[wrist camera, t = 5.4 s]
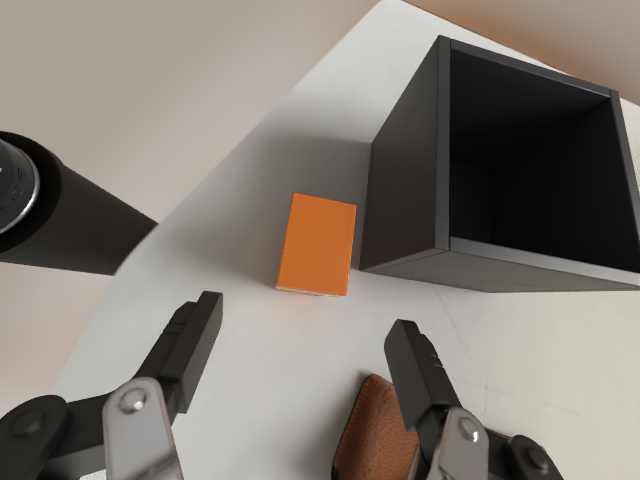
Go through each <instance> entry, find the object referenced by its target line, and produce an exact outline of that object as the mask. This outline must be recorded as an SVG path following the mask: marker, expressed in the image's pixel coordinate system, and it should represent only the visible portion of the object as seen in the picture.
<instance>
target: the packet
mask: <svg viewBox="0 0 640 480" xmlns="http://www.w3.org/2000/svg"><path fill="white" fill-rule="evenodd" d="M356 207H357V206H356V205H353V204H348V203H343V202H339V201H334V200H329V199H324V198H319V197H314V196H309V195H304V194H299V193H293V196H292V201H291V206H290V210H289V215H288V221H287V226H286V232H285V237H284V243H283V248H282V254H281V259H280V264H279V270H278V275H277V281H276V288H277V290H281V291H288V292H295V293H302V294H308V295H315V296H331V297H337V296H346V295H347V289H348V280H349V271H350V262H351V253H352V243H353V234H354V225H355V216H356Z"/></svg>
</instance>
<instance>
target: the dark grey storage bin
mask: <svg viewBox="0 0 640 480" xmlns="http://www.w3.org/2000/svg"><path fill="white" fill-rule="evenodd" d="M359 271H362V272H368V273H374V274H380V275H386V276H392V277H398V278H404V279H410V280H416V281H422V282H428V283H434V284H440V285H446V286H452V287H458V288H464V289H470V290H476V291H482V292H488V293H515V292H578V291H640V195H639V191H638V186H637V181H636V176H635V171H634V166H633V161H632V157H631V152H630V147H629V142H628V137H627V132H626V127H625V123H624V118H623V113H622V108H621V103H620V98H619V94H618V91H616V90H613V89H608V88H606V87H603V86H600V85H597V84H594V83H591V82H587V81H584V80H581V79H578V78H575V77H572V76H569V75H565V74H562V73H559V72H556V71H553V70H550V69H546V68H543V67H540V66H537V65H534V64H531V63H527V62H524V61H521V60H518V59H515V58H512V57H508V56H505V55H502V54H499V53H496V52H493V51H490V50H486V49H483V48H480V47H477V46H474V45H471V44H467V43H464V42H461V41H458V40H455V39H450V38H449V37H445V36H442V35H438V37H437V39H436V40H435V42H434V43H433V45H432V47H431V48H430V50H429V51H428V53H427V55H426V56H425V58H424V59H423V61H422V63H421V64H420V66H419V68H418V69H417V71H416V72H415V74H414V76H413V77H412V79H411V80H410V82H409V84H408V85H407V87H406V89H405V90H404V92H403V93H402V95H401V97H400V98H399V100H398V101H397V103H396V105H395V106H394V108H393V110H392V111H391V113H390V114H389V116H388V118H387V119H386V121H385V122H384V124H383V126H382V127H381V129H380V131H379V132H378V134H377V135H376V137H375V139H374V140H373V142H372V147H371V157H370V167H369V177H368V187H367V197H366V207H365V217H364V227H363V237H362V247H361V257H360V267H359Z"/></svg>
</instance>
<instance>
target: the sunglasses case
mask: <svg viewBox="0 0 640 480" xmlns="http://www.w3.org/2000/svg"><path fill="white" fill-rule="evenodd" d="M484 429H486V430H488V431H491V432H493V433H495V434H497V435H499V436H501V437H504V438H506V439H508V440H510V439H511V437H508V436H505V435H503V434H500V433H497V432H495V431H493V430H490V429H487V428H485V427H484ZM418 440H419V438H418V435H417V433H410V432H406V429H405V425H404V422H403V418H402V414H401V411H400V407H399V403H398V400H397V396H396V392H395V389H394V385H393V384H392V383H390V382H389V381H387V380H385V379H383V378H382V377H380V376H378V375H376V374H371V375H370V376H368V377H367V378H366V379H365V380H364V382H363V384H362V387H361V389H360V391H359V394H358V396H357V398H356V400H355V403H354V405H353V408H352V411H351V413H350V416H349V418H348V421H347V424H346V426H345V429H344V432H343V434H342V437H341V439H340V442H339V445H338V448H337V450H336V453H335V456H334V459H333V463H332V471H331V480H406V478H407V475H408V471H409V468H410V464H411V461H412V457H413V454H414V450H415V447H416V444H417V442H418ZM540 447H541V448H542V449H543V450H544V451H545V449H544V448H543V447H542V446H540ZM545 452H546V451H545Z"/></svg>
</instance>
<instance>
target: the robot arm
mask: <svg viewBox="0 0 640 480" xmlns="http://www.w3.org/2000/svg"><path fill="white" fill-rule="evenodd" d="M43 192H44V178H43V174H42V171H41V169H40V167H39V165H38V164H37V162H36V161H35V160H34V159H33V158H32V157H31V156H30V155H29V154H27V153H26V152H24V151H22V150H21V149H19V148H17V147H15V146H13V145H12V144H9V143H7V142H4V141H2V140H0V237H3V236H5V235H7V234H9V233H11V232H12V231H14V230H15V229H17V228H18V227H20V226H21V225H22V224H23V223H24V222H26V221H27V220H28V219H29V218H30V217H31V215H32V214H33V213H34V212H35V210H36V209H37V207H38V205H39V203H40V201H41V199H42V196H43ZM222 316H223V293H218V292H211V291H203V292H202V294H201V296H200V298H199V299H198V301H197V303H196V302H189V301H187V302H186V303H185V304H184V305H182V306H181V307H180V308H178V309H177V310H176V311H175V313H174V315H173V316H172V318H171V319H170V321H169V324H167V326H166V327H165V329H164V330H163V333H162V334H161V335H160V337H159V338H158V340H157V341H156V343H155V345H154V346H153V348H152V349H151V351H150V352H149V354H148V356H147V357H146V359H145V360H144V362H143V364H142V365H141V367H140V368H139V370H138V371H137V373H136V374H135V375H134V376H133V377H132V378H131V379H130V380H129V381H128V382H126V383H124V384H122V385H121V386H120V387H118V388H117V389H116V390H114V391H112V392H110V393H107V394H104V395H101V396H96V397H92V398H87V399H82V400H78V401H73V402H69V403H66V401H65V400H64V399H63V398H62V397H60V396H57V395H45V396H40V397H37V398H33V399H31V400H28V401H26V402H24V403H22V404H20V405H19V406H17V407H16V408H14V409H12V410H11V411H10V412H8V413H7V414H6V415H5V416H3V417H2V418H1V419H0V480H79V479H80V477H81V476H84V475H87V474H91V473H94V472H97V471H100V470H103V469H106V476H107V480H184V478H183V474H182V470H181V466H180V462H179V458H178V454H177V451H176V447H175V442H174V438H173V434H172V430H171V426H172V424H173V422H174V419H175V417H176V415H177V413H184V414H186V413H187V411H188V408H189V406H190V403H191V400H192V398H193V395H194V393H195V390H196V388H197V385H198V383H199V380H200V378H201V375H202V373H203V370H204V368H205V365H206V363H207V360H208V358H209V355H210V353H211V350H212V348H213V345H214V343H215V340H216V338H217V335H218V333H219V330H220V327H221V323H222ZM384 351H385V355H386V359H387V363H388V366H389V370H390V374H391V377H392V381H393V385H394V389H395V392H396V396H397V400H398V403H399V407H400V411H401V414H402V418H403V422H404V425H405V429H406V432H410V433H417V435H418V438H419V440H418V442H417V444H416V447H415V450H414V454H413V457H412V461H411V464H410V468H409V471H408V475H407V478H406V480H564V479H563V478H562V476H561V474H560V473H559V471H558V469H557V468H556V466H555V464H554V463H553V461H552V460H551V458H550V457H549V456H548V454H547V453H546V452H545V451H544V450H543V449H542V448H541V447H540V446H539V445H538V444H537V443H536V442H534V441H533V440H531V439H530V438H528V437H526V436H523V435H516V436H514V437H513V438H511V439H510V440H508V439H506V438H504V437H501V436H499V435H497V434H495V433H493V432H491V431H488V430H486V429H484V427H483V426H482V424H481V423H480V421H479V420H478V419H477V418H476V417H475V416H474V415H473V414H472V413H470V412H469V411H467V410H466V409H464V408H463V407H462V405H461V403H460V401H459V399H458V397H457V395H456V393H455V391H454V389H453V386H452V384H451V382H450V380H449V378H448V376H447V374H446V372H445V369H444V368H443V367H442V366H443V365H442V363H441V361H440V359H439V358H438V355H437V352H436V350H435V348H434V346H433V344H432V343H431V342H430V341H429V340H428V338H427V337H426V336H425V335H424V334H421V333H420V331H419V329H418V327H417V325H416V323H415V322H414V321H408V320H401V319H397V320H396V321H395V323H394V325H393V326H392V328H391V330H390V332H389V333H388V335H387V337H386V339H385V343H384Z"/></svg>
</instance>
